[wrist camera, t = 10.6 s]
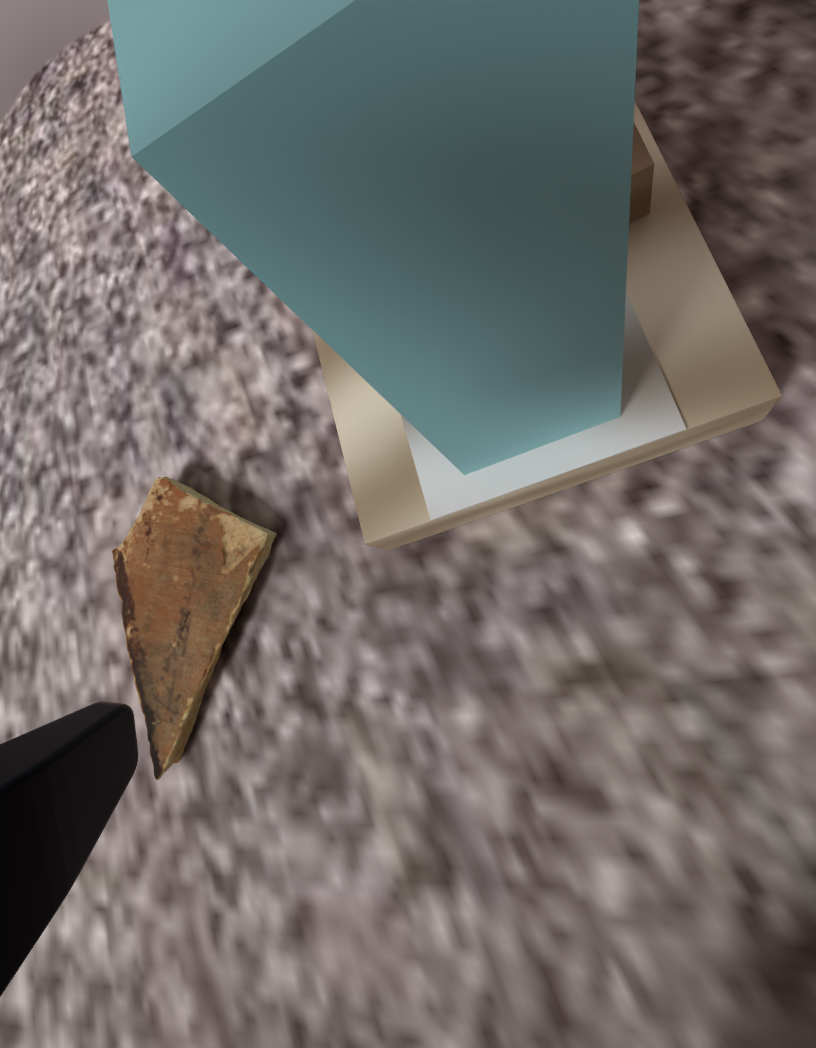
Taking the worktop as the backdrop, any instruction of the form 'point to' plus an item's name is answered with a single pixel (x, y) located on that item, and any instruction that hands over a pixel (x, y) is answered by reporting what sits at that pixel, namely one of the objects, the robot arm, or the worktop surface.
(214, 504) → the shard
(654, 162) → the beige tray
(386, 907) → the worktop surface
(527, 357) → the tall block
